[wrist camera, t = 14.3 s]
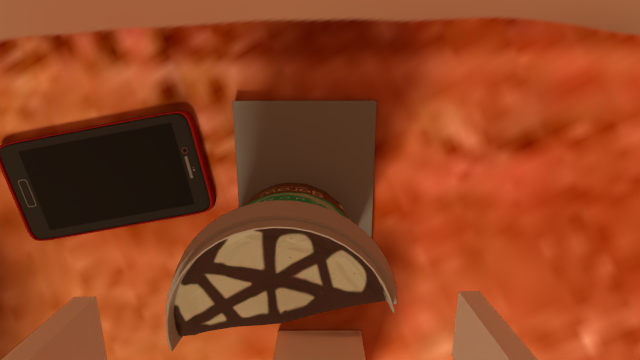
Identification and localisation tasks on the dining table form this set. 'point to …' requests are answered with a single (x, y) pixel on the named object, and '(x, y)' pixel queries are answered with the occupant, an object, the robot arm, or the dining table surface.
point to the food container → (276, 265)
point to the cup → (319, 345)
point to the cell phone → (108, 176)
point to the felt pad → (309, 150)
